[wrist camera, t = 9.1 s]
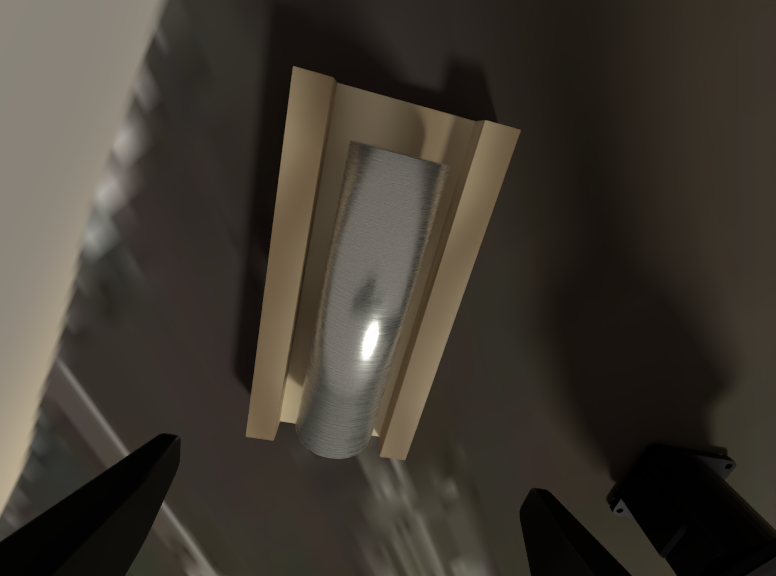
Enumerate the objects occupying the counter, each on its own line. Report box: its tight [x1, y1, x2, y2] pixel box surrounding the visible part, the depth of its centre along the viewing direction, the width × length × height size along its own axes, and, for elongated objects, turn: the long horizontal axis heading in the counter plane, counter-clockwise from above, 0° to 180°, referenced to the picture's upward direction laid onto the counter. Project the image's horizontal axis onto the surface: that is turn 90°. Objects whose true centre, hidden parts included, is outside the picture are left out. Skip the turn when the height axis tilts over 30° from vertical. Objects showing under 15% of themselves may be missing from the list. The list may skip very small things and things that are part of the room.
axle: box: [296, 140, 450, 459], centre depth 17 cm, size 14×4×4 cm, turn 166°
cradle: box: [246, 66, 521, 460], centre depth 18 cm, size 9×18×2 cm, turn 166°
